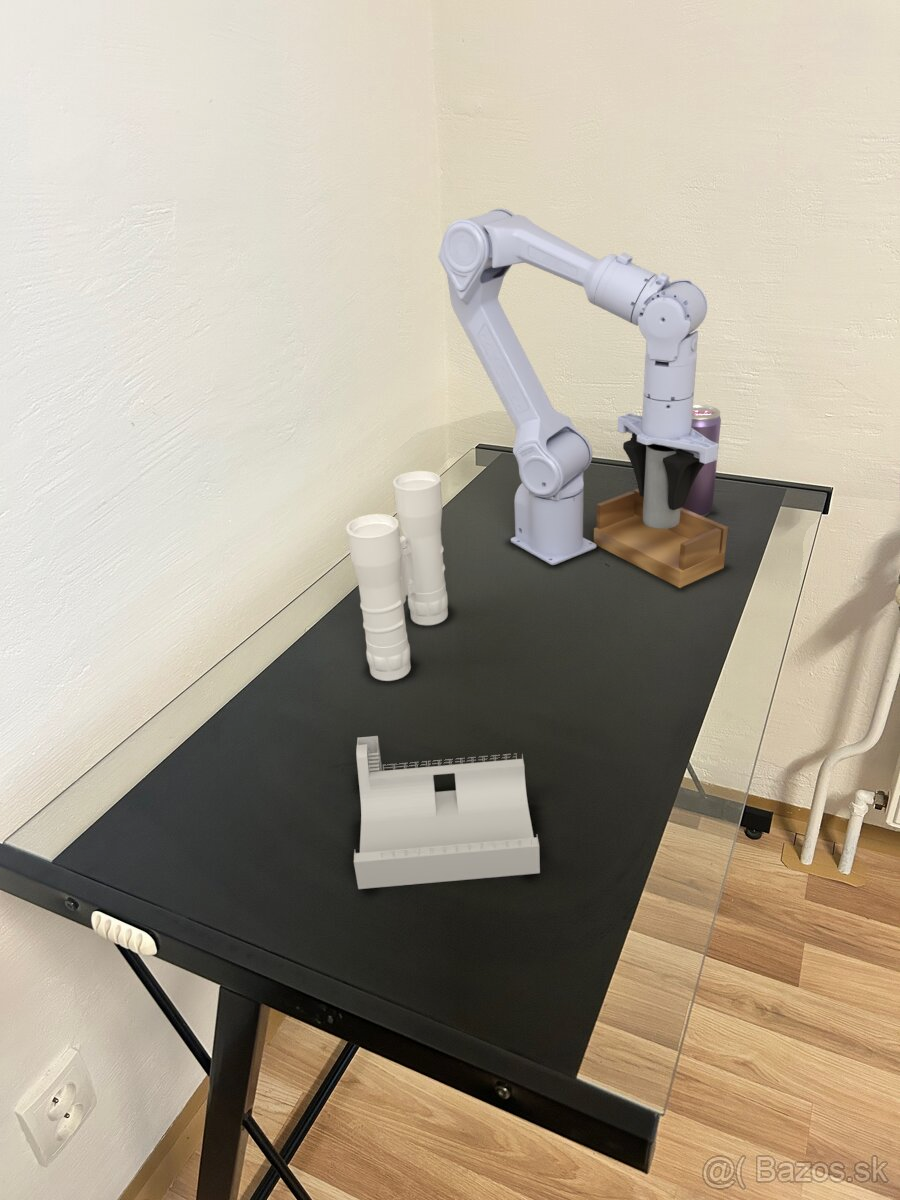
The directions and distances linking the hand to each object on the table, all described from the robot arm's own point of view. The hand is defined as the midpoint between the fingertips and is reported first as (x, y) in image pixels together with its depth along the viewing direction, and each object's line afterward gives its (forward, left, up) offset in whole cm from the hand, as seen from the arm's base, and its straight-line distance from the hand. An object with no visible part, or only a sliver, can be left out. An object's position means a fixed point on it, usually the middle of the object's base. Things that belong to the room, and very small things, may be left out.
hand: (661, 500), depth 109 cm
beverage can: (-9, +16, -10) cm, 21 cm away
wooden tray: (-3, +3, -10) cm, 11 cm away
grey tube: (0, 0, -3) cm, 3 cm away
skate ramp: (+21, -47, -10) cm, 52 cm away
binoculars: (-6, -34, -10) cm, 36 cm away
